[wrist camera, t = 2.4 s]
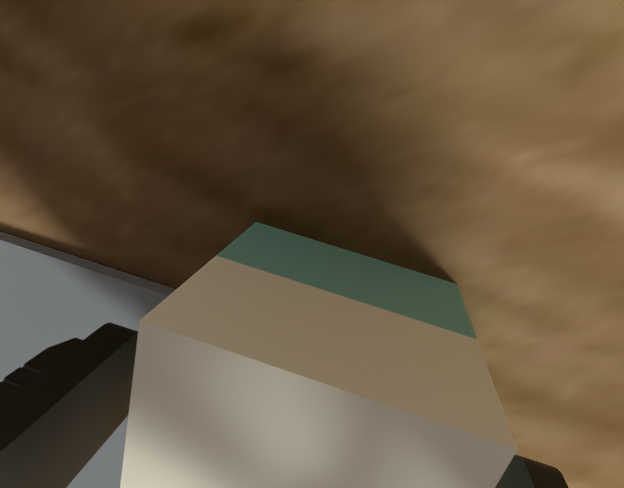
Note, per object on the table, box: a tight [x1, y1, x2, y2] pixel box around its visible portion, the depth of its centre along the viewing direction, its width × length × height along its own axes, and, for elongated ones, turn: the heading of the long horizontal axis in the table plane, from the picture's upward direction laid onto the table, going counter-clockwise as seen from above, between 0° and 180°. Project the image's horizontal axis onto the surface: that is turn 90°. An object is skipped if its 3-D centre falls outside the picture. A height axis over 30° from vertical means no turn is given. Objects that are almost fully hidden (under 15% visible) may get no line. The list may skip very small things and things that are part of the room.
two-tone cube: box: [120, 222, 518, 488], centre depth 8 cm, size 5×5×5 cm
